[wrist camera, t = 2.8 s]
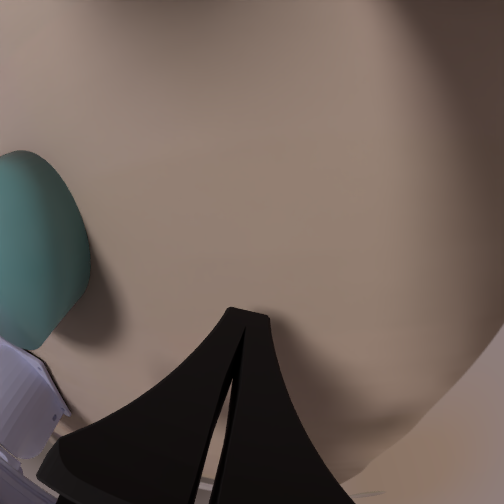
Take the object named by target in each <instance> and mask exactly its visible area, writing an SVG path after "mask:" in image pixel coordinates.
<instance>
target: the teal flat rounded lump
mask: <svg viewBox="0 0 504 504" xmlns="http://www.w3.org/2000/svg"><path fill="white" fill-rule="evenodd" d="M90 268H91V263H90V250H89V243H88V238H87V234H86V230H85V227H84V223H83V220H82V217H81V215H80V212H79V209H78V207H77V205H76V203H75V201H74V198H73V196H72V195H71V193H70V191H69V189H68V187H67V186H66V184H65V183H64V181H63V180H62V178H61V177H60V175H59V174H58V173H57V172H56V170H55V169H54V168H53V167H52V166H51V165H50V164H49V163H48V162H47V161H46V160H44V159H43V158H42V157H40V156H39V155H37V154H35V153H32V152H29V151H25V150H18V151H14V152H10V153H8V154H5V155H2V156H0V336H1V337H3V338H4V339H5V340H7V341H8V342H10V343H11V344H13V345H15V346H17V347H20V348H22V349H26V350H35V349H38V348H39V347H40V346H41V345H42V344H43V343H44V341H45V340H46V339H47V337H48V336H49V335H50V334H51V332H52V331H53V330H54V329H55V327H56V326H57V325H58V324H59V322H60V321H61V320H62V319H63V317H64V316H65V315H66V314H67V313H68V311H69V310H70V309H71V308H72V307H73V306H74V304H75V303H76V302H77V301H78V300H79V299H80V297H81V296H82V295H83V293H84V292H85V290H86V288H87V285H88V282H89V278H90Z"/></svg>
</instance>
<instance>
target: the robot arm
mask: <svg viewBox="0 0 504 504" xmlns="http://www.w3.org/2000/svg"><path fill="white" fill-rule="evenodd" d="M232 379H233V381H232ZM231 382H232V388H231V396H230V403H229V411H228V418H227V426H226V433H225V439H224V444H223V448H222V452H221V456H220V460H219V465H218V469H217V473H216V477H215V481H214V485H213V489H212V493H211V497H210V500H209V504H355V503H354V502H353V500H352V499H351V498H350V497H349V496H348V495H347V493H346V492H345V491H344V490H343V488H342V487H341V486H340V485H339V483H338V482H337V481H336V479H335V478H334V476H333V475H332V474H331V472H330V471H329V469H328V468H327V467H326V465H325V464H324V462H323V460H322V459H321V457H320V456H319V454H318V452H317V451H316V449H315V447H314V446H313V444H312V442H311V441H310V439H309V437H308V435H307V433H306V431H305V430H304V428H303V426H302V424H301V422H300V420H299V417H298V415H297V413H296V411H295V409H294V406H293V404H292V402H291V399H290V397H289V394H288V391H287V389H286V386H285V383H284V380H283V377H282V374H281V371H280V367H279V364H278V360H277V357H276V353H275V349H274V344H273V339H272V334H271V327H270V318H269V317H268V315H264V314H260V313H255V312H251V311H247V310H243V309H238V308H234V307H229V308H227V309H226V311H225V313H224V315H223V316H222V318H221V319H220V321H219V322H218V323H217V325H216V326H215V327H214V329H213V330H212V331H211V332H210V334H209V335H208V336H207V337H206V338H205V339H204V341H203V342H202V343H201V344H200V345H199V346H198V347H197V348H196V349H195V350H194V351H193V352H192V353H191V354H190V355H189V356H188V357H187V358H186V359H185V360H184V361H183V362H182V363H181V364H180V365H179V366H178V367H177V368H176V369H175V370H174V371H172V372H171V373H170V374H169V375H168V376H167V377H165V378H164V379H163V380H162V381H160V382H159V383H158V384H157V385H155V386H154V387H153V388H151V389H150V390H148V391H147V392H146V393H144V394H143V395H141V396H140V397H139V398H137V399H136V400H134V401H133V402H131V403H129V404H128V405H126V406H124V407H123V408H121V409H119V410H117V411H116V412H114V413H112V414H110V415H108V416H107V417H105V418H103V419H101V420H99V421H97V422H95V423H93V424H91V425H89V426H86V427H84V428H82V429H79V430H77V431H74V432H72V433H70V434H67V435H65V436H62V437H60V438H59V439H58V440H57V442H56V443H55V444H54V445H53V447H52V448H51V449H50V451H49V452H48V453H47V455H46V457H45V459H44V461H43V463H42V464H41V466H40V468H39V470H38V472H37V474H36V476H37V479H38V480H39V481H41V482H42V483H44V484H45V485H46V486H48V487H49V488H51V489H52V490H54V491H56V492H57V493H59V494H60V495H59V497H58V498H56V497H54V496H53V495H51V494H50V493H48V492H47V491H45V490H44V489H42V488H40V487H39V486H38V485H36V484H35V483H33V482H32V481H31V480H29V479H28V478H27V477H25V476H24V475H23V471H22V468H21V467H20V465H21V463H20V462H19V461H18V460H17V459H15V458H14V457H13V456H12V455H10V454H9V453H8V452H7V451H6V450H8V451H9V452H10V453H11V454H13V455H14V456H15V457H17V458H18V457H19V458H22V459H31V458H33V457H36V456H37V455H39V454H40V453H41V451H42V450H43V448H44V446H45V445H46V443H47V441H48V439H49V437H50V436H51V434H52V432H53V430H54V429H55V427H56V425H57V423H58V422H59V420H60V418H61V417H62V415H63V414H65V415H67V416H69V417H70V416H71V412H70V411H69V409H68V407H67V406H66V404H65V402H64V401H63V399H62V397H61V395H60V394H59V392H58V390H57V388H56V386H55V385H54V383H53V381H52V379H51V377H50V375H49V373H48V371H47V369H46V367H45V365H44V363H43V362H42V361H41V360H39V359H38V358H36V357H35V356H33V355H31V354H30V353H28V352H26V351H25V350H23V349H22V348H20V347H17V346H15V345H13V344H11V343H10V342H8V341H7V340H5V339H4V338H3V337H1V336H0V444H1V445H2V446H3V447H4V448H5V449H6V450H4V449H3V448H2V447H1V446H0V504H194V502H195V498H196V495H197V490H198V487H199V483H200V479H201V475H202V472H203V468H204V464H205V460H206V456H207V452H208V449H209V445H210V441H211V438H212V435H213V431H214V428H215V426H216V423H217V420H218V418H219V415H220V412H221V409H222V407H223V404H224V401H225V398H226V396H227V393H228V390H229V387H230V384H231Z"/></svg>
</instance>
